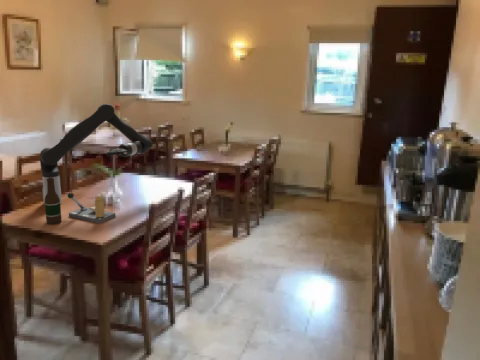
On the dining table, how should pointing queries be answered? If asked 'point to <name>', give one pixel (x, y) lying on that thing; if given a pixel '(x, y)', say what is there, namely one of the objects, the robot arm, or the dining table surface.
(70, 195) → the toggle lever
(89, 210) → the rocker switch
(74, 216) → the control box
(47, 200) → the beer bottle
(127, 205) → the dining table surface
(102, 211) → the slider knob
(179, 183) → the dining table surface
